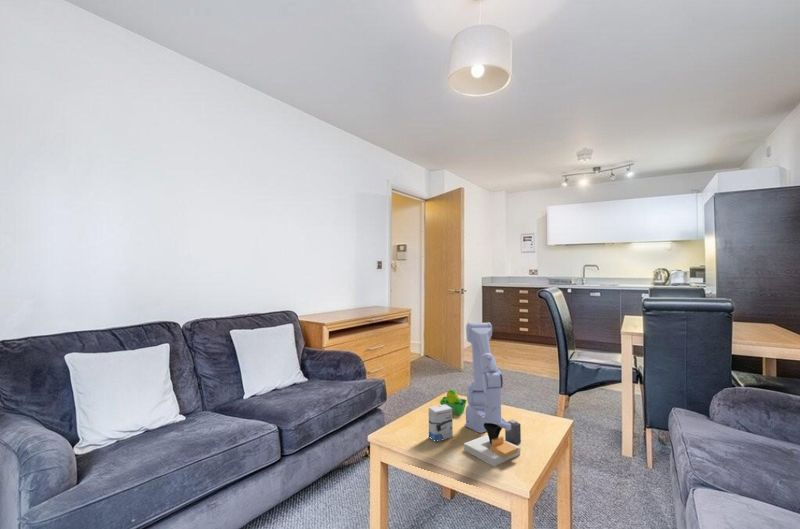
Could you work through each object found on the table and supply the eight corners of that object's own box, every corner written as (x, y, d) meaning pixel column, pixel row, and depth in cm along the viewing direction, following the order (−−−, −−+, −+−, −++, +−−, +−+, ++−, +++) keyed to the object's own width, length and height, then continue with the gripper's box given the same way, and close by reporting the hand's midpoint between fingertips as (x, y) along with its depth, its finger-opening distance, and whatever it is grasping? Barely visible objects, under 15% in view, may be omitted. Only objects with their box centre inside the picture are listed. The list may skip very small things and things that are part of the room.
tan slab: (490, 450, 131) (490, 440, 131) (502, 445, 134) (502, 435, 134) (505, 457, 125) (505, 447, 125) (518, 452, 129) (517, 442, 129)
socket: (464, 450, 136) (463, 443, 136) (490, 440, 144) (490, 433, 144) (493, 466, 125) (493, 459, 125) (520, 454, 133) (520, 447, 133)
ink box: (435, 442, 143) (434, 411, 143) (428, 437, 147) (427, 407, 147) (453, 437, 147) (452, 407, 147) (446, 432, 151) (445, 403, 151)
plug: (505, 441, 143) (505, 420, 143) (512, 438, 145) (511, 418, 145) (513, 445, 140) (513, 424, 140) (520, 442, 142) (520, 421, 142)
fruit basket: (467, 410, 175) (466, 386, 175) (462, 417, 167) (462, 391, 167) (444, 407, 180) (443, 383, 180) (438, 413, 172) (438, 389, 172)
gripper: (470, 402, 138) (471, 439, 137) (501, 414, 126) (502, 455, 125) (483, 398, 142) (484, 434, 141) (514, 409, 130) (515, 449, 129)
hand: (493, 443), depth 134 cm, fingers closed
